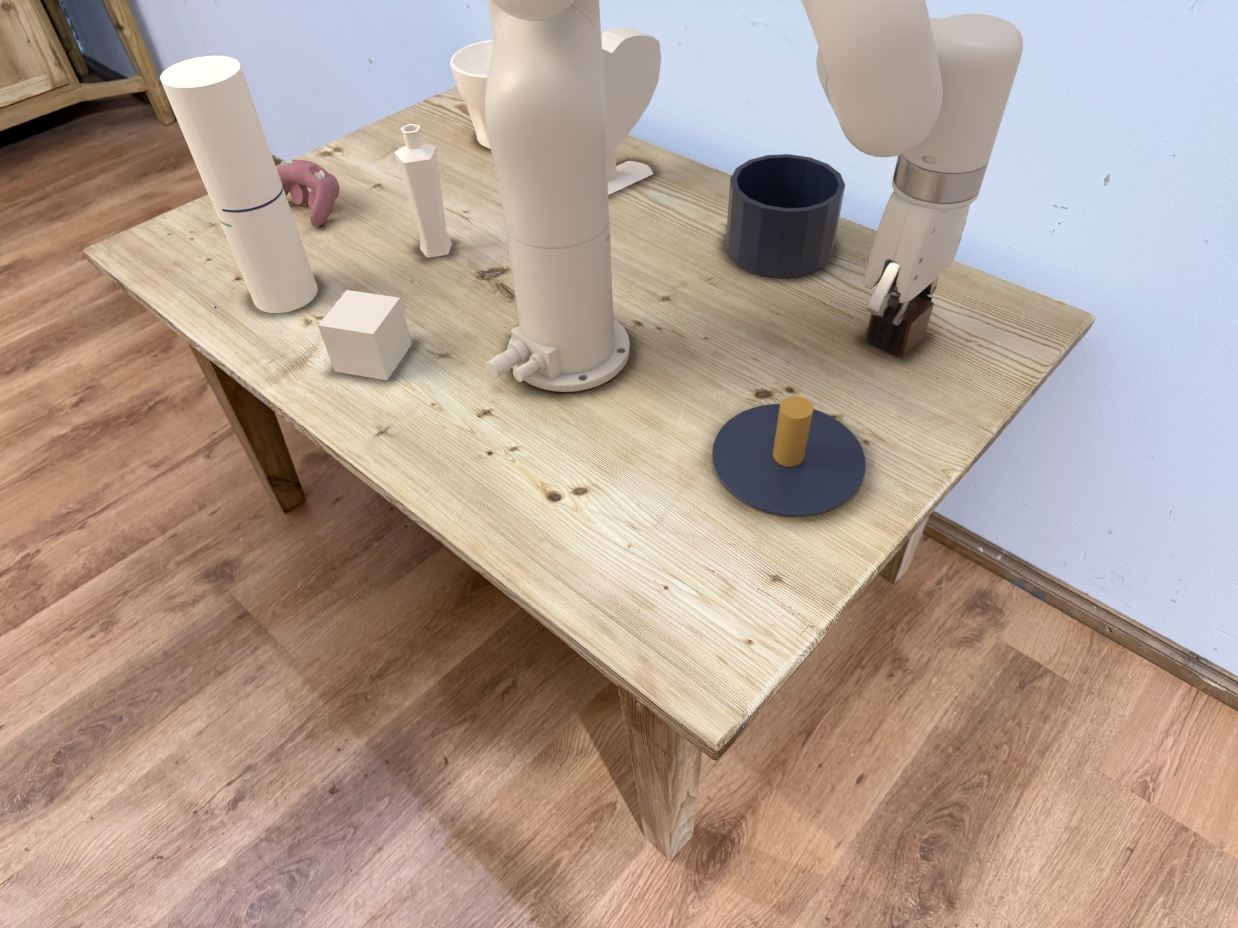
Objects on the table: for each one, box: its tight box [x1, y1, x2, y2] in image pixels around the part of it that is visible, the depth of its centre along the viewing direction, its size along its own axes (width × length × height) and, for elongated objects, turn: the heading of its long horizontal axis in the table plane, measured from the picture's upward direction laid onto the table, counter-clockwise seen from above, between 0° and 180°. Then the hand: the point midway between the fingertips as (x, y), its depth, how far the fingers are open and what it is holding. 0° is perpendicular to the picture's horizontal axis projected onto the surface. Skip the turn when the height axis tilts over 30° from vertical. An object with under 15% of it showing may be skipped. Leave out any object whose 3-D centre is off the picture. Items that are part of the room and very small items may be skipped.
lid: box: [711, 395, 867, 519], centre depth 74 cm, size 14×14×7 cm
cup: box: [449, 39, 493, 150], centre depth 117 cm, size 12×12×11 cm
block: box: [865, 286, 935, 358], centre depth 87 cm, size 4×4×4 cm
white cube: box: [317, 289, 413, 381], centre depth 87 cm, size 6×6×6 cm
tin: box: [725, 153, 846, 279], centre depth 97 cm, size 12×12×8 cm
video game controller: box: [276, 159, 340, 227], centre depth 108 cm, size 10×5×7 cm, turn 58°
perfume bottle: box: [394, 123, 453, 259], centre depth 97 cm, size 5×4×15 cm
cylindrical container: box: [159, 55, 318, 314], centre depth 88 cm, size 7×7×25 cm
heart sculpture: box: [601, 26, 662, 196], centre depth 105 cm, size 16×5×18 cm, turn 131°
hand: (895, 334), depth 88 cm, fingers closed on block, 4 cm apart
